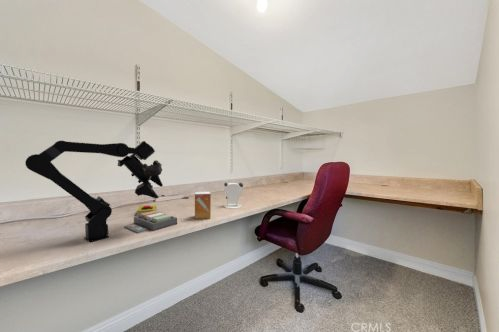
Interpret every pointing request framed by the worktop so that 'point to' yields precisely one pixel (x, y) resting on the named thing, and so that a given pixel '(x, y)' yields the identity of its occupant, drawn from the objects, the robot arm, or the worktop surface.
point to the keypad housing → (154, 226)
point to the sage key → (161, 218)
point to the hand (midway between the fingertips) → (159, 191)
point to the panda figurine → (233, 195)
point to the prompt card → (135, 228)
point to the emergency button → (146, 209)
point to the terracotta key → (147, 214)
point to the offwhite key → (153, 216)
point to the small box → (202, 205)
